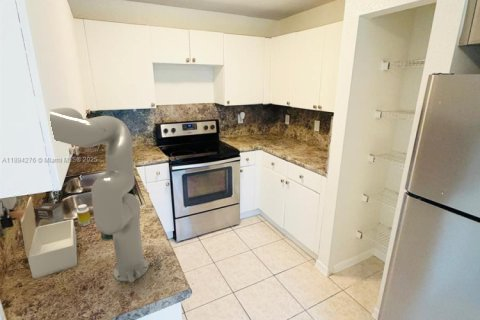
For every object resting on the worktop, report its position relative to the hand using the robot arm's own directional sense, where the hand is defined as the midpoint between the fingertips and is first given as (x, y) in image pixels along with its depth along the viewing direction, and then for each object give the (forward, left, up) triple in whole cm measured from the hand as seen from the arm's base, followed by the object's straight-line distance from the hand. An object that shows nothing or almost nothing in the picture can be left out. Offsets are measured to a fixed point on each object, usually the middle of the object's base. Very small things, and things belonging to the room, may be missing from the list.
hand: (9, 223), depth 98 cm
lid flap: (0, -6, -2) cm, 6 cm away
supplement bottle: (+24, -23, -19) cm, 38 cm away
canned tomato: (+5, -33, -19) cm, 39 cm away
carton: (0, -12, -19) cm, 23 cm away
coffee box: (+18, -10, -19) cm, 28 cm away
